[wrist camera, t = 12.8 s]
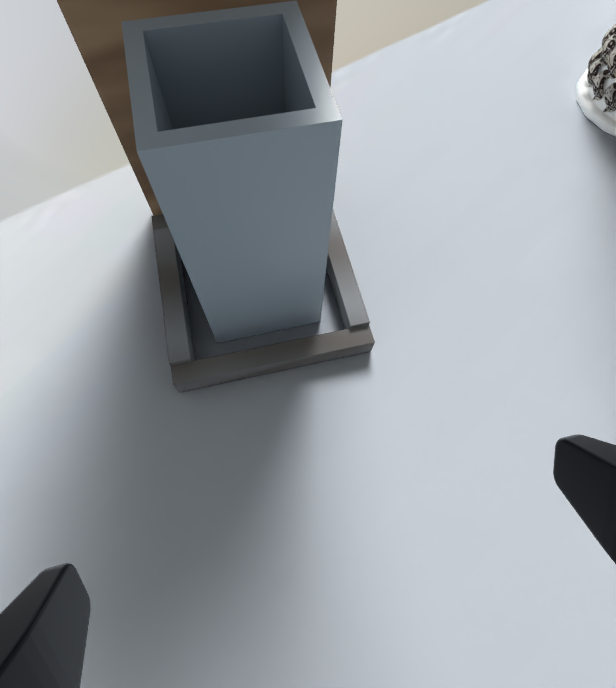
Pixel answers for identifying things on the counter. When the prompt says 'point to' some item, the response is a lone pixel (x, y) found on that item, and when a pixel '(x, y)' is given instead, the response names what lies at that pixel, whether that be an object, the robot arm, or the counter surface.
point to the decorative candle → (600, 86)
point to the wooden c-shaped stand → (113, 87)
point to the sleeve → (239, 158)
